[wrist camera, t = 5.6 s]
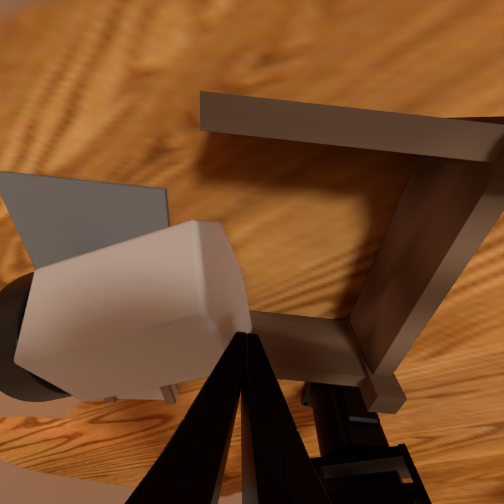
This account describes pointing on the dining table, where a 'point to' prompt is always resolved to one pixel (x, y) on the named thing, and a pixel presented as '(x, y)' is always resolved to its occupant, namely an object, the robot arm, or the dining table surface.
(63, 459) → the dining table surface
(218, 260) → the jar
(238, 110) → the brown u-shaped frame
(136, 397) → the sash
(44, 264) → the bench mat
